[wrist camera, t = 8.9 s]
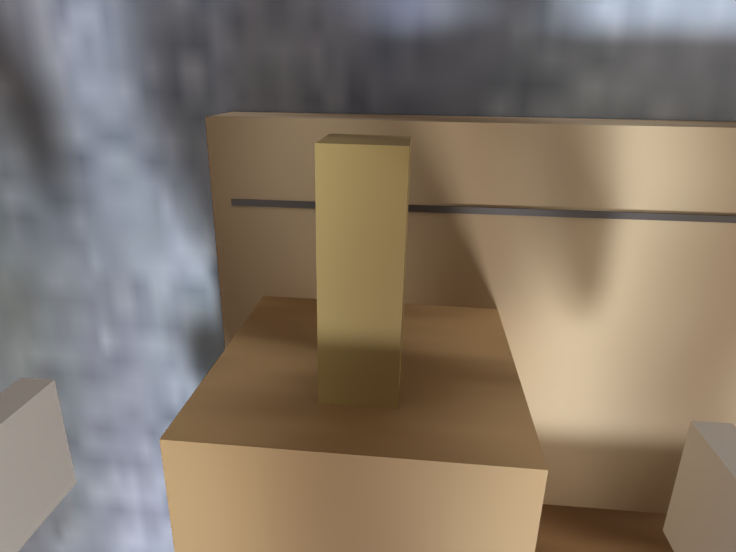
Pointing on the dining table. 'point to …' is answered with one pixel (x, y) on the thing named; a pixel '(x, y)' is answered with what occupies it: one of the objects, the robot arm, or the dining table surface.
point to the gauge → (358, 402)
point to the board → (534, 278)
